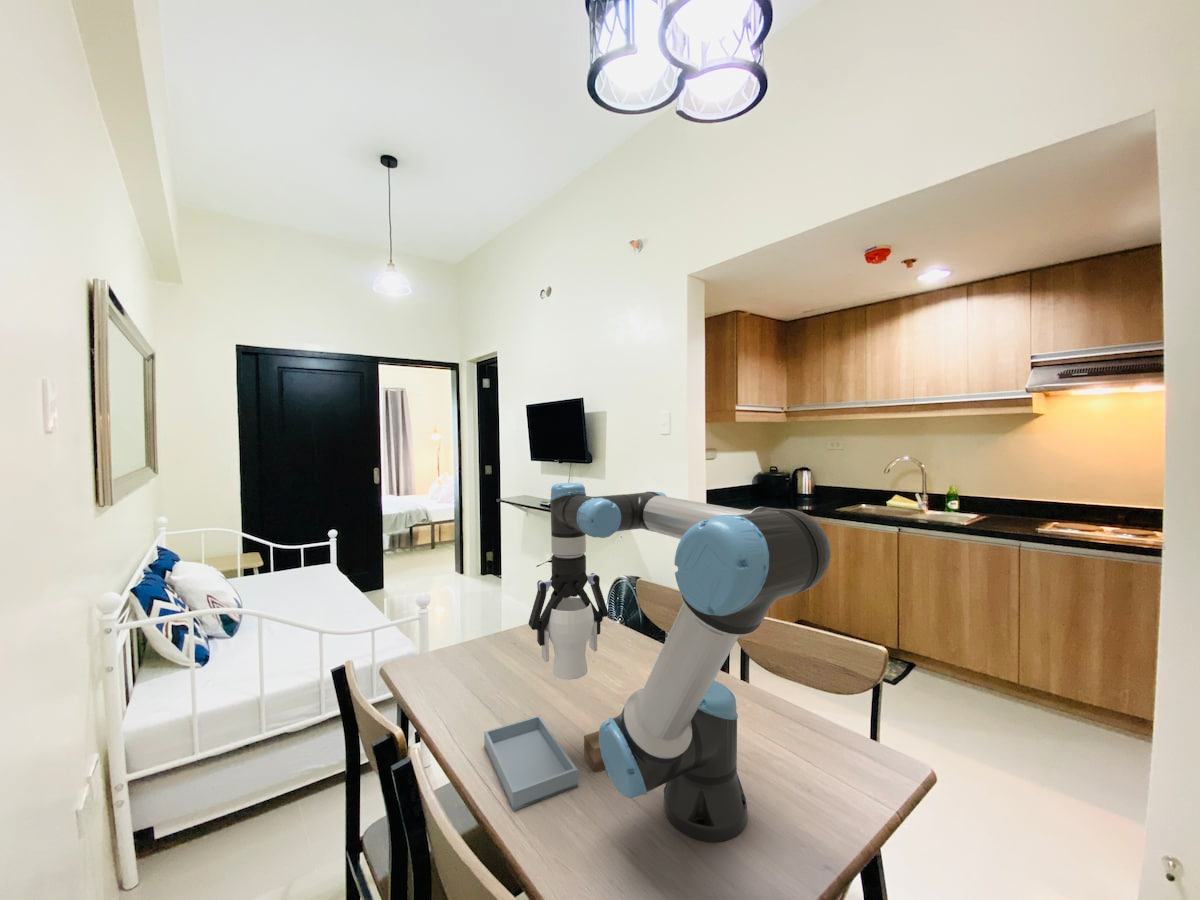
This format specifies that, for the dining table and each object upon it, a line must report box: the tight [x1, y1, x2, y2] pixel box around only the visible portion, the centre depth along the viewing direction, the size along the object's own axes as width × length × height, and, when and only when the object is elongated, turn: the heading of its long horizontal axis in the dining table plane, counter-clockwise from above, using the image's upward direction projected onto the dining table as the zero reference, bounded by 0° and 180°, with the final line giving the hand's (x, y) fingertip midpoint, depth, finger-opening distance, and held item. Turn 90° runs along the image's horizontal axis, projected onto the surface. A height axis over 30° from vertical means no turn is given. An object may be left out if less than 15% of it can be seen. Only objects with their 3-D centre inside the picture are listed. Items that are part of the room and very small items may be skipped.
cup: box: [546, 596, 594, 681], centre depth 105 cm, size 11×11×15 cm
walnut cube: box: [583, 730, 606, 773], centre depth 103 cm, size 5×5×5 cm
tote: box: [483, 714, 579, 812], centre depth 101 cm, size 21×13×4 cm, turn 28°
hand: (569, 653), depth 105 cm, fingers closed on cup, 10 cm apart
